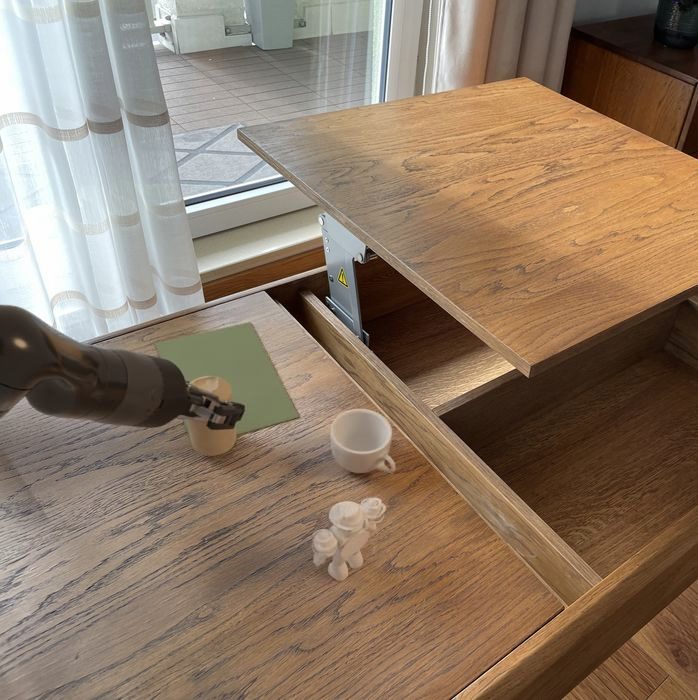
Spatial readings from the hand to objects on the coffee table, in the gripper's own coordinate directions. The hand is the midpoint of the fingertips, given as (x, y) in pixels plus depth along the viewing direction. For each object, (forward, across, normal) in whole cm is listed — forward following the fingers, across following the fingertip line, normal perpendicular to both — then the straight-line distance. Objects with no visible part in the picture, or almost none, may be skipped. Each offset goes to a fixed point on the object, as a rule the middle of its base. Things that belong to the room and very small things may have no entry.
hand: (220, 402), depth 89 cm
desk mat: (+11, -7, +1) cm, 13 cm away
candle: (+3, 0, -5) cm, 6 cm away
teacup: (+9, +18, 0) cm, 20 cm away
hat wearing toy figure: (-1, +24, -10) cm, 26 cm away
